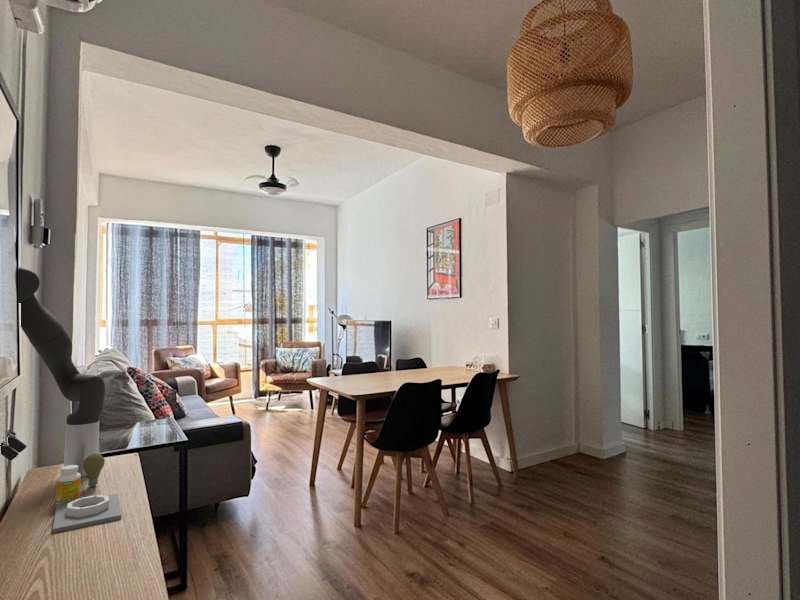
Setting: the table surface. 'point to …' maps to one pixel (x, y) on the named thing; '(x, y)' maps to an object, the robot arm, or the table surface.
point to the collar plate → (86, 512)
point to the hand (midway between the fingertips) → (19, 453)
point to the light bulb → (93, 468)
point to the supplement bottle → (68, 484)
